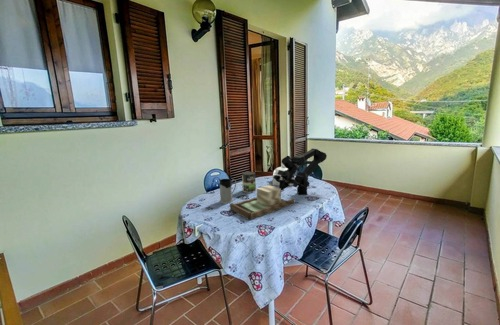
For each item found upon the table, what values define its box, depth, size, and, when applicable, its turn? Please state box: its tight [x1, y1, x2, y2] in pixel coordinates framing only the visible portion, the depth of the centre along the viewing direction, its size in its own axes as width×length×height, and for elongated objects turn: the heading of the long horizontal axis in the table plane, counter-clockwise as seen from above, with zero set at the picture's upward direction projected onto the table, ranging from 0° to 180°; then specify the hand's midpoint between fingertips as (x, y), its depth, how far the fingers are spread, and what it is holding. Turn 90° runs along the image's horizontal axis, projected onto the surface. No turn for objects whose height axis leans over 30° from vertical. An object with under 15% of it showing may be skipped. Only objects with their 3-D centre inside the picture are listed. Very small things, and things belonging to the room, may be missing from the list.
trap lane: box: [229, 196, 295, 221], centre depth 158 cm, size 36×20×4 cm, turn 126°
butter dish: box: [272, 164, 296, 186], centre depth 208 cm, size 18×18×16 cm
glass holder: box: [219, 178, 237, 204], centre depth 171 cm, size 9×14×15 cm, turn 137°
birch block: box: [256, 184, 282, 206], centre depth 160 cm, size 11×11×9 cm
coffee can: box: [241, 171, 257, 194], centre depth 190 cm, size 10×10×14 cm
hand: (279, 191), depth 165 cm, fingers closed
